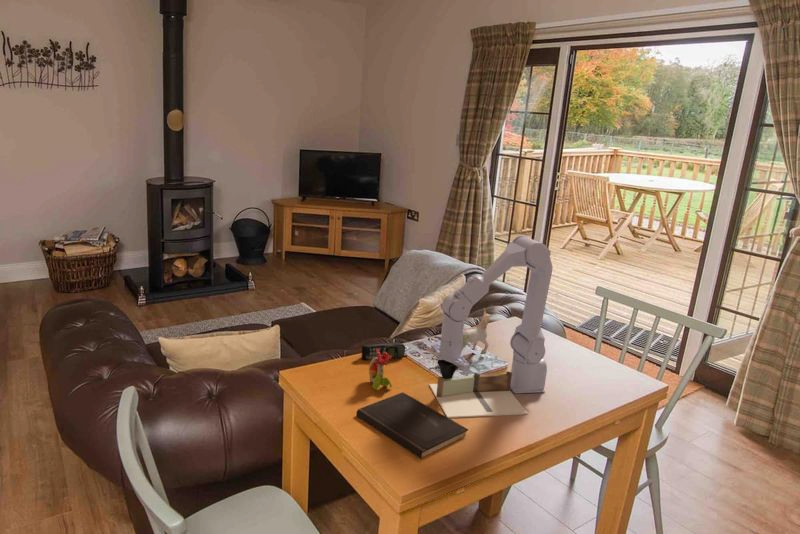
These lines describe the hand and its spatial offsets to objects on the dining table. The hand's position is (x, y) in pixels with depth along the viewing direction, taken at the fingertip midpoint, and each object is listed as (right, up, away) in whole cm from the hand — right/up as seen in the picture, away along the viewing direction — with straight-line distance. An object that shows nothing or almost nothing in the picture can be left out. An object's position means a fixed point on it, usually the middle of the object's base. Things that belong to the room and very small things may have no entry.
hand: (446, 384), depth 160 cm
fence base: (+13, -2, +4) cm, 14 cm away
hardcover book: (-10, -7, -16) cm, 21 cm away
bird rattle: (-19, -1, +3) cm, 20 cm away
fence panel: (+2, -2, 0) cm, 3 cm away
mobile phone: (-17, +4, +21) cm, 28 cm away
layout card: (+8, -4, -1) cm, 9 cm away
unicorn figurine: (+9, +4, +29) cm, 31 cm away
